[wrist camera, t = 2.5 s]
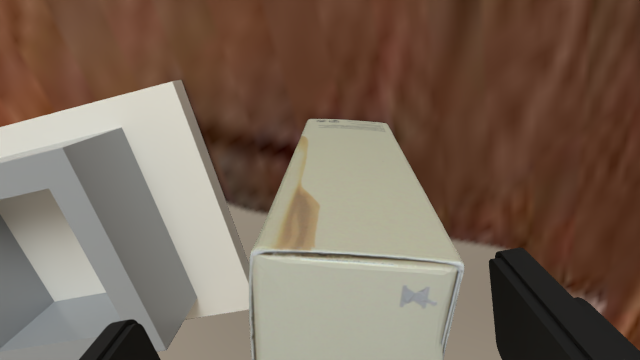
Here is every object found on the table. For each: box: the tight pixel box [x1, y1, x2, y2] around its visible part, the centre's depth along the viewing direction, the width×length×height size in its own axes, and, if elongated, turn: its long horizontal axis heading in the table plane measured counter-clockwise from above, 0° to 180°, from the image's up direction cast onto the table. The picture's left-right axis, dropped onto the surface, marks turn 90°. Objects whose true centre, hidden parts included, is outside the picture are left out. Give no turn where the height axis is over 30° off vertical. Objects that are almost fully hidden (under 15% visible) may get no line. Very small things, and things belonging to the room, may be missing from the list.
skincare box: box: [249, 119, 464, 360], centre depth 13 cm, size 6×4×12 cm
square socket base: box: [0, 80, 249, 360], centre depth 19 cm, size 18×14×5 cm
